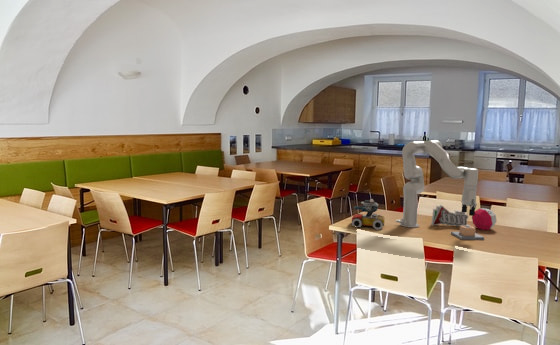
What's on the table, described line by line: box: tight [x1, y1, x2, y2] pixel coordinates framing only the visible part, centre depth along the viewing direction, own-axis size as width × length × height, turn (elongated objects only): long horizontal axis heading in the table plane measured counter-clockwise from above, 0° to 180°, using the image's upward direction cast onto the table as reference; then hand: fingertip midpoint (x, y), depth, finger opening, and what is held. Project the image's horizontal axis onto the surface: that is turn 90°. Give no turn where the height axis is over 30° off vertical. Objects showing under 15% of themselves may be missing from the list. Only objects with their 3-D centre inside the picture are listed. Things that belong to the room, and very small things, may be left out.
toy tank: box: [351, 198, 386, 231], centre depth 300 cm, size 18×22×20 cm
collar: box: [458, 225, 476, 236], centre depth 276 cm, size 7×7×5 cm
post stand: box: [450, 224, 485, 241], centre depth 276 cm, size 15×14×8 cm
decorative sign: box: [430, 204, 469, 227], centre depth 305 cm, size 24×3×15 cm, turn 84°
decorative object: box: [471, 208, 498, 231], centre depth 299 cm, size 15×15×15 cm
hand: (467, 213), depth 275 cm, fingers open, 9 cm apart
